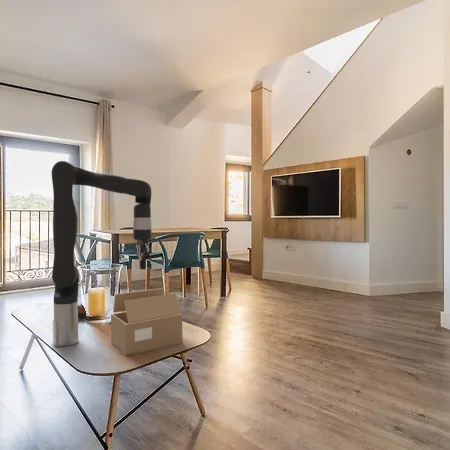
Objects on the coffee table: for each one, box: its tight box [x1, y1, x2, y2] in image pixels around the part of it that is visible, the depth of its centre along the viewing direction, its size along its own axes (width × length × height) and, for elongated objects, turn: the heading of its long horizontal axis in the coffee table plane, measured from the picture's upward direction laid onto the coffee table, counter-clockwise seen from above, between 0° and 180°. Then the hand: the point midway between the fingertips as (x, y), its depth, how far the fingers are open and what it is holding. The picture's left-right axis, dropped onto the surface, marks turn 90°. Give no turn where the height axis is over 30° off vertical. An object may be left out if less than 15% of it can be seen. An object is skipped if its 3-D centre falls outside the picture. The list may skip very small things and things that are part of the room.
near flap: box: [124, 293, 181, 323], centre depth 143 cm, size 22×9×1 cm
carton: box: [110, 311, 183, 357], centre depth 148 cm, size 24×18×12 cm
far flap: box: [112, 287, 165, 313], centre depth 154 cm, size 22×9×1 cm
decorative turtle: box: [78, 303, 87, 320], centre depth 186 cm, size 10×15×8 cm, turn 135°
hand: (142, 269), depth 151 cm, fingers closed
